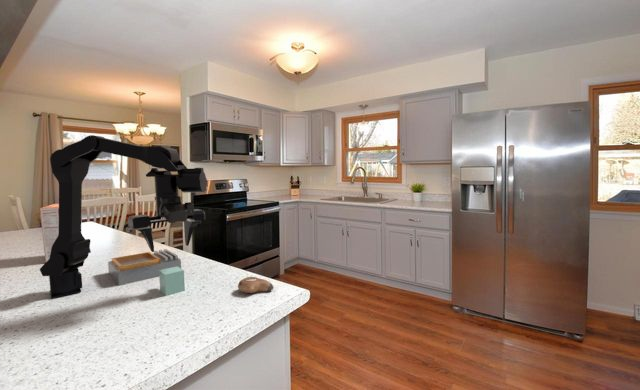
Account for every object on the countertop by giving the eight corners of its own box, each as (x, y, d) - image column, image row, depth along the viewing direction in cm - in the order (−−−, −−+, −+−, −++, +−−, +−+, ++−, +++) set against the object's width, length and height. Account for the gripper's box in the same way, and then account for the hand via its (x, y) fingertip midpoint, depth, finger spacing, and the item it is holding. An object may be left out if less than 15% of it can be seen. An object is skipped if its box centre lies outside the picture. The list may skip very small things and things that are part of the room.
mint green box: (166, 296, 85) (164, 274, 84) (157, 288, 90) (156, 268, 89) (184, 291, 88) (183, 270, 88) (175, 284, 93) (174, 264, 93)
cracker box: (56, 254, 127) (52, 203, 125) (74, 252, 130) (70, 202, 128) (43, 263, 114) (38, 207, 113) (64, 261, 117) (59, 206, 115)
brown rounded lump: (254, 303, 82) (276, 293, 88) (255, 288, 81) (277, 280, 88) (232, 291, 87) (254, 282, 94) (233, 277, 86) (255, 270, 93)
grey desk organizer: (118, 285, 92) (117, 268, 92) (108, 273, 103) (107, 258, 103) (181, 271, 105) (180, 256, 104) (166, 261, 116) (165, 248, 115)
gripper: (137, 197, 74) (141, 261, 75) (212, 192, 87) (215, 247, 88) (125, 195, 82) (129, 253, 83) (196, 190, 95) (198, 241, 96)
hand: (170, 248), depth 87 cm, fingers open, 9 cm apart
